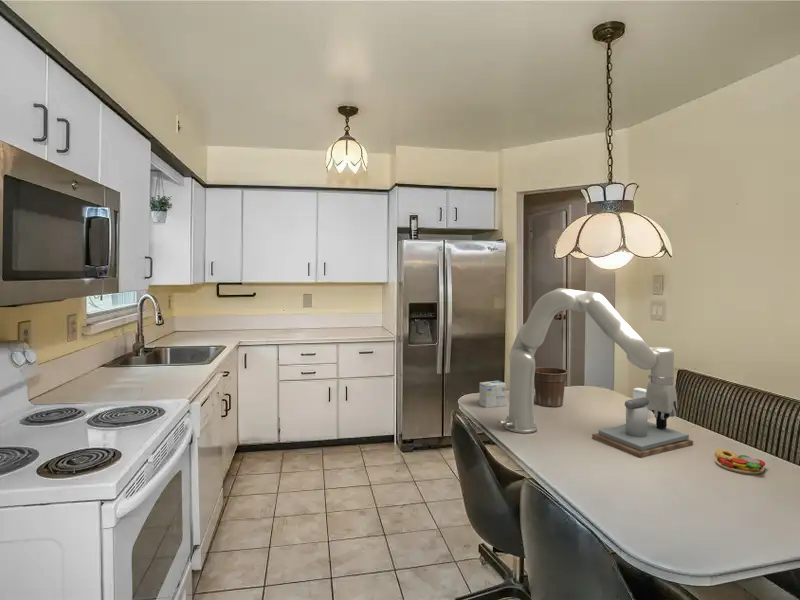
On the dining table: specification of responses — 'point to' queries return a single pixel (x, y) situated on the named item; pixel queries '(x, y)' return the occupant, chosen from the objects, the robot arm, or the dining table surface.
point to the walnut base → (645, 452)
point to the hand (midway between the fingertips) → (661, 428)
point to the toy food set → (738, 462)
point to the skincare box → (640, 395)
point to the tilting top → (641, 429)
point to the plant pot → (549, 386)
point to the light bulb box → (492, 394)
